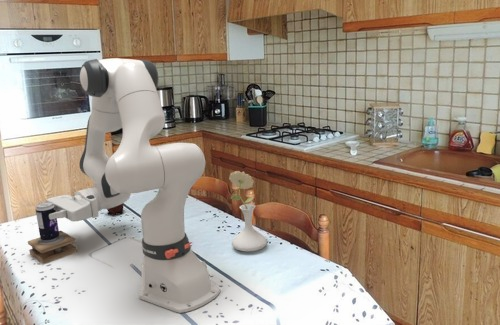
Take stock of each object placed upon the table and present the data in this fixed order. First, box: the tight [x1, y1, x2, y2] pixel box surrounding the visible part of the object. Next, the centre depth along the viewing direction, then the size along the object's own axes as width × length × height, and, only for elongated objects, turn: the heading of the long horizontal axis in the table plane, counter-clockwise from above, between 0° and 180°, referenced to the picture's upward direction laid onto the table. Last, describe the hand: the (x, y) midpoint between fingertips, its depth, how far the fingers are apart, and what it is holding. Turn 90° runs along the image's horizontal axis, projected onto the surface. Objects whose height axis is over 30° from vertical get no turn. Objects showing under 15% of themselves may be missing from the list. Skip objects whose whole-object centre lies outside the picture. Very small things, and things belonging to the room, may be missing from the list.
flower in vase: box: [228, 170, 268, 252], centre depth 143 cm, size 13×11×25 cm
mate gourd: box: [106, 203, 125, 217], centre depth 180 cm, size 8×8×15 cm
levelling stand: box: [27, 230, 79, 265], centre depth 147 cm, size 11×11×5 cm
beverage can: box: [35, 201, 60, 242], centre depth 145 cm, size 6×6×12 cm
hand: (44, 214), depth 144 cm, fingers open, 6 cm apart
